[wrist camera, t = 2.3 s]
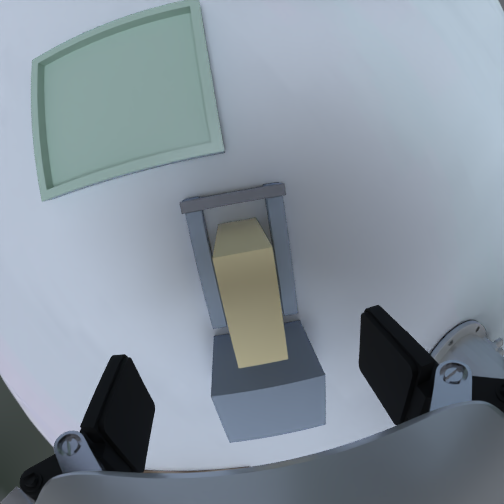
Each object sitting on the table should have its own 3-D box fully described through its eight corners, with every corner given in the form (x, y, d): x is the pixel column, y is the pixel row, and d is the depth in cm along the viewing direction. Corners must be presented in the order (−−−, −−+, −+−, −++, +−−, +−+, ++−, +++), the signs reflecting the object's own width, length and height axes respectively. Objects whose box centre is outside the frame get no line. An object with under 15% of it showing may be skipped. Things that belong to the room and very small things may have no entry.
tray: (200, 7, 17) (198, -3, 15) (224, 152, 21) (224, 150, 19) (41, 64, 16) (32, 60, 15) (52, 199, 20) (42, 201, 19)
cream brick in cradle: (255, 217, 23) (272, 247, 14) (268, 296, 25) (288, 359, 16) (218, 224, 23) (212, 258, 14) (234, 302, 25) (238, 368, 16)
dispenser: (281, 181, 22) (309, 187, 14) (304, 368, 27) (325, 424, 20) (181, 200, 22) (157, 215, 14) (227, 382, 27) (229, 442, 19)
